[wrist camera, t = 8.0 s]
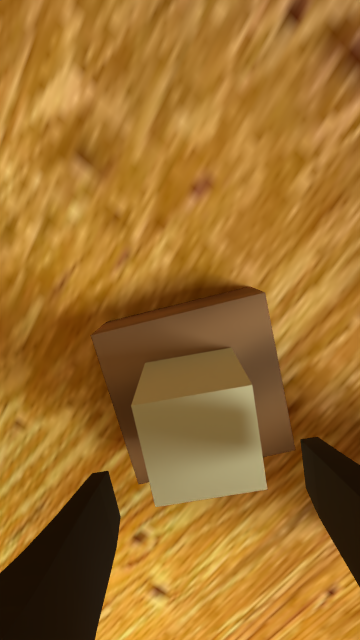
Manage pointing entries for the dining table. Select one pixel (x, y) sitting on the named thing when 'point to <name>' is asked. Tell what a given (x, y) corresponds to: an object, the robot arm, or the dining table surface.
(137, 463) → the walnut riser
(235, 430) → the sage cube
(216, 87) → the dining table surface
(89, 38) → the dining table surface
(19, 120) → the dining table surface
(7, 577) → the robot arm
